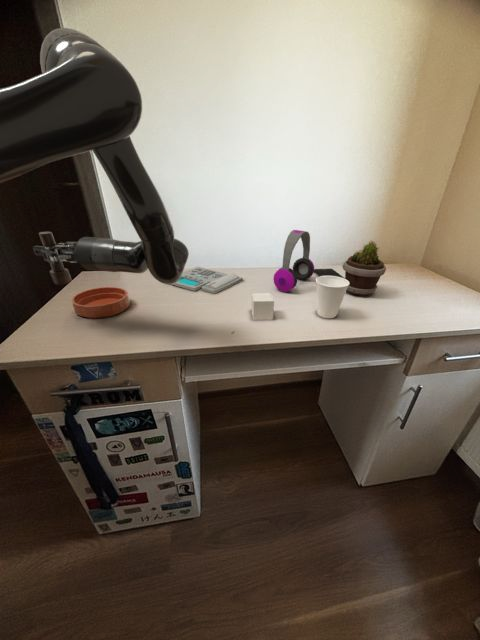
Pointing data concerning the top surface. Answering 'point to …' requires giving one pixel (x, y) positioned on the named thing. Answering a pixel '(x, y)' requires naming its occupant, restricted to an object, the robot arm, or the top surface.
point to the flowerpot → (364, 271)
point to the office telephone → (207, 280)
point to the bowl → (100, 302)
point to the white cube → (262, 306)
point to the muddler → (58, 271)
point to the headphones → (302, 267)
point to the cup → (330, 295)
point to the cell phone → (327, 272)
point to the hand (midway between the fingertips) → (40, 249)
